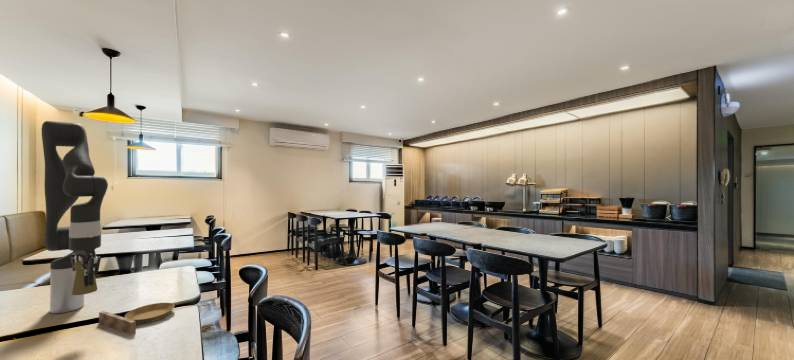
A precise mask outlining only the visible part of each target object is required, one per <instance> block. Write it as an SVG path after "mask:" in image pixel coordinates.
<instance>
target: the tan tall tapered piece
mask: <svg viewBox="0 0 794 360" xmlns="http://www.w3.org/2000/svg"><path fill="white" fill-rule="evenodd" d="M84 265H85V266H88V264H85V263H84ZM81 266H82V265H81V262H80V261H76V262H75V263H74V268H75V270H76V275H75V280H74V285H73V290H72V295H83V294H84V295H88V294H91V293H95V292H97V291H98V285H97V279H96V278H97V277H96V273H95V274H94V284H93V285H92V286H91V285H88V286H87V287H85V285H84V272H83V269H81ZM87 269H88V268H87Z"/></svg>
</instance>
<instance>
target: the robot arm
mask: <svg viewBox="0 0 794 360" xmlns="http://www.w3.org/2000/svg"><path fill="white" fill-rule="evenodd" d="M41 141H42V150H43V157H44V183H43V184H44V199H45V200H44V201H45V230H44V231H45V232H44V245H45V246H44V247H45V249H46V250H47V251H49V252H57V251H71V253H70V252H69V254H67V255H64V256H61V257H59V258H55V259H53V260H52V261H51V262H50V271H49V272H50V289H49V291H50V292H49V295H50V296H49V297H50V298H49V299H50V300H49V301H50V302H49V313H51V314H62V313H68V312H72V311H75V310H78V309H80V308H83V307H84V306H85V294H83V295H72V290H73V285H74V280H75V275H76V270H75V268H74V263H75V262H76V261H80V262H81V265H82V266H81V269H83V272H84V285H85V287H87V286H88V285H91V286H92V285H93V284H94V274H95V275H96V274H98V273H99V269H100V265H101V260H102V257H101V256H97V254H96V249H98V248H101V246H102V225H101V206H102V204H103V200H104V198H105V195H106V194H107V190H108V187H109V186H108V185H109V183H108V181H107V179H106V178H105V177H104V176H102V175H95V172H96V171H95V167H94V165H93V163H92V161H91V158H90V151H89V150H90V149H89V143H88V137H87V132H86V129H85V127H84V126H83V125H82V124H80V123H77V122H65V121H53V120H52V121H51V120H46V121H44V122H43V123H42V125H41ZM57 147H71V149H70V150H68V152H67V153H65V155H64V156H63V157H62V158H61V156H60V155H59V154H58V150H57ZM80 197H82V198H83V197H91V198H90V199H89V200H88V201H86V202H82V203H77V204H75V203H76V202H77V200H78V199H79V198H80ZM68 210H70V211H69V212H70V213H69V215H70V216H69V218H70V223H69V226H58V225H59V223H60V221H61V219H62V218H63V216H64V215H65V213H66V212H68ZM84 263H85V264H88V266H85V265H84ZM87 268H88V269H87Z"/></svg>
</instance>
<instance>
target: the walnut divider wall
mask: <svg viewBox="0 0 794 360" xmlns="http://www.w3.org/2000/svg"><path fill="white" fill-rule="evenodd" d="M98 324H100V325H103V326H106V327H109V328H112V329H113V330H114V329H115V330H118V331H120V332H123V333H126V334H129V335H134V334H136V329H137V328H136V324H137V323H136V321H134V320H130V319H127V318H125V316H124V317H123V316H121V315H118V314H114V313H111V312H107V311H105V310H103V311H98Z"/></svg>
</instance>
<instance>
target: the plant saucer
mask: <svg viewBox="0 0 794 360" xmlns="http://www.w3.org/2000/svg"><path fill="white" fill-rule="evenodd" d="M174 308H175V304H174V303H172V302H158V303H150V304H147V305H146V304H145V305H143V306H139V307H136V308H134V309H132V310H130V311H128V312H127V313H126V314H125V315H124V318H127V319H130V320H134V321H136V324H146V323H147V324H149V323H151V322H155V321H158V320H161V319H164V318H165V317H166V316H168V315H170V313H171V312H172V310H174Z"/></svg>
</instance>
